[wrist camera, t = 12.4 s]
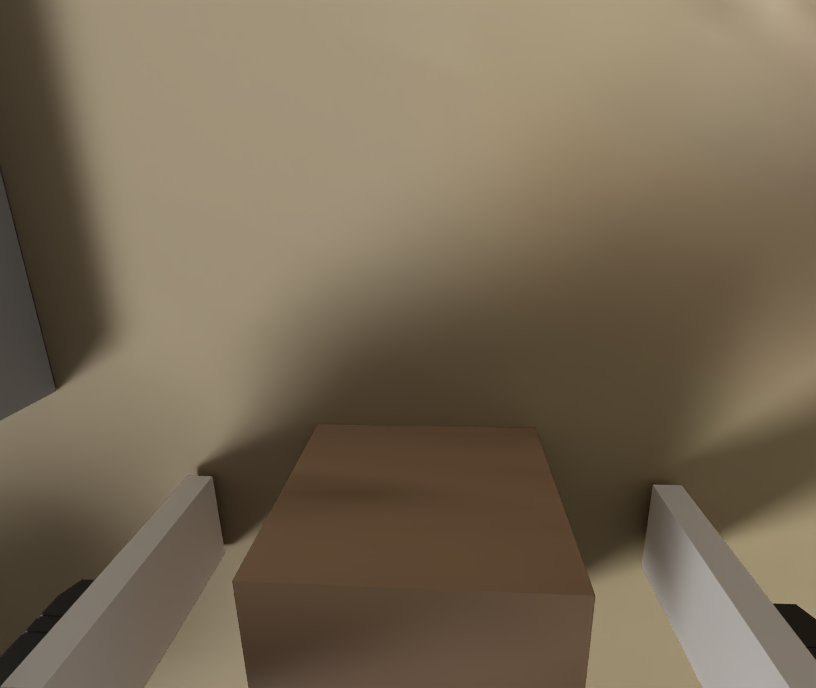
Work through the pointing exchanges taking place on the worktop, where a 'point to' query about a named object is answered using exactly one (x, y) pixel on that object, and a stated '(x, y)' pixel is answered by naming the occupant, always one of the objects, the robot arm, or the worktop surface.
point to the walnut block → (416, 566)
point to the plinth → (18, 327)
